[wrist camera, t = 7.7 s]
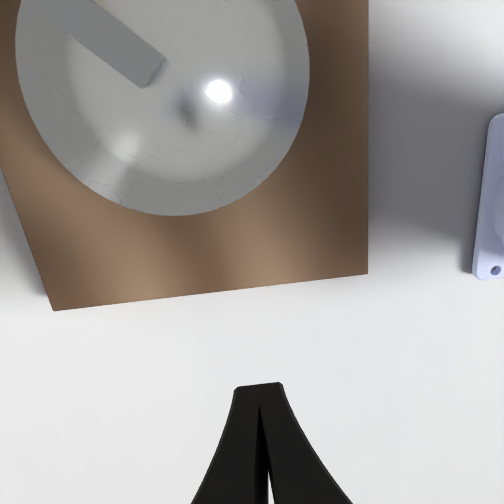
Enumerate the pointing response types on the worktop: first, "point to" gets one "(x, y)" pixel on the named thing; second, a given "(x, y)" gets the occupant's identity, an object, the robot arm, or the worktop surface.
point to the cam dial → (165, 94)
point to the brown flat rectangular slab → (216, 221)
